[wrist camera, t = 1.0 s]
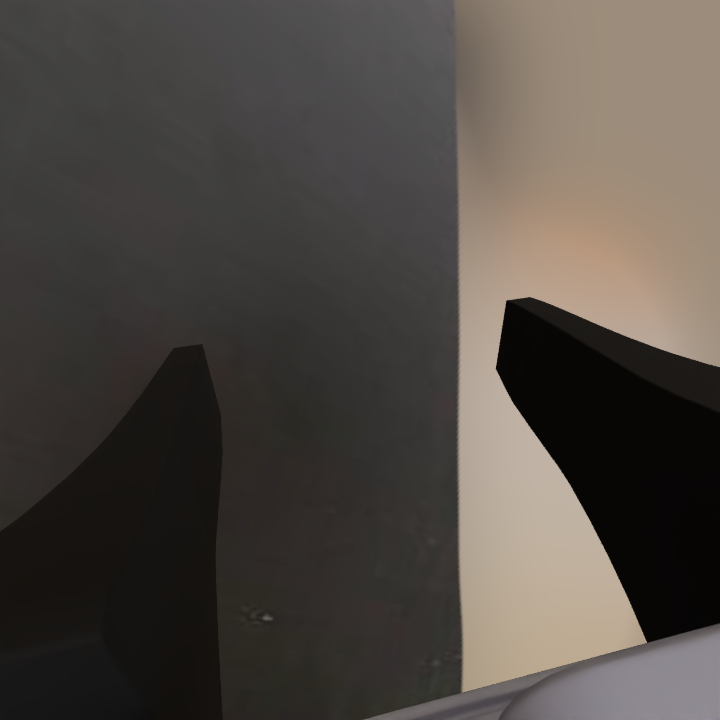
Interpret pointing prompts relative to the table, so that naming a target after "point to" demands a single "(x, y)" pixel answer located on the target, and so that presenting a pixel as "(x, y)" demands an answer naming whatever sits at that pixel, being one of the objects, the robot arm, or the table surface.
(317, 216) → the table surface
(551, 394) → the robot arm
